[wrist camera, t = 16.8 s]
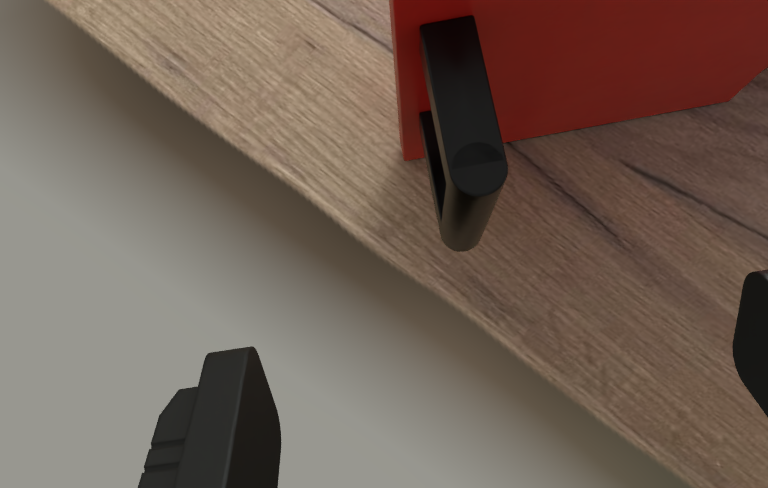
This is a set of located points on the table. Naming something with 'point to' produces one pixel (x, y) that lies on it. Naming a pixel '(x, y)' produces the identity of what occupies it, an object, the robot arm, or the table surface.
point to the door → (551, 79)
